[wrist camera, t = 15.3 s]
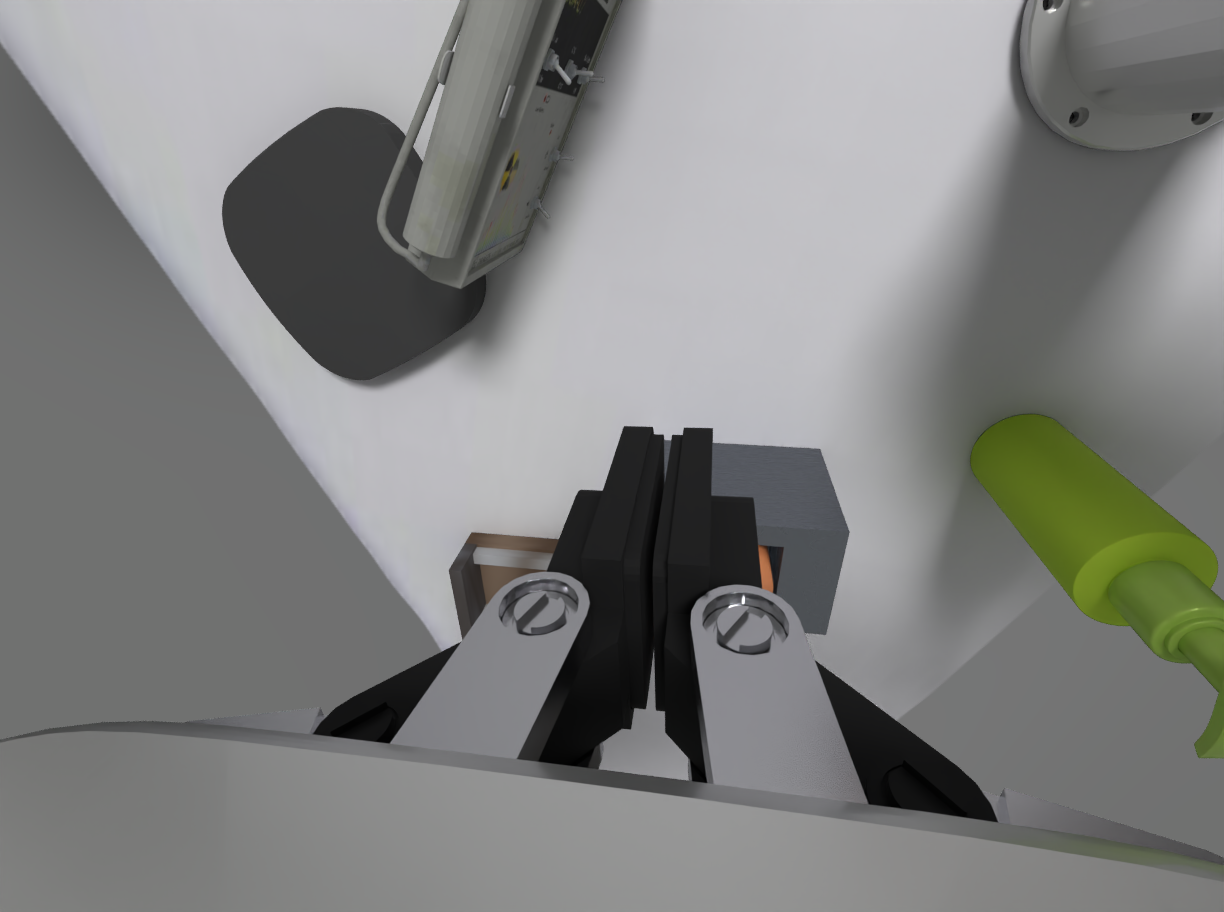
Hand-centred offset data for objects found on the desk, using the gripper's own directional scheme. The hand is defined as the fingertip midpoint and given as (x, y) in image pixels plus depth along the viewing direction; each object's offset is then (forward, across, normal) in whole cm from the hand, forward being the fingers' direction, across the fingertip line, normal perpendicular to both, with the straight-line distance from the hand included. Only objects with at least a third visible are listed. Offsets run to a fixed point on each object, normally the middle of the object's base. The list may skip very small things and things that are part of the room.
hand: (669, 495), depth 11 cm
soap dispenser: (+29, -22, +15) cm, 39 cm away
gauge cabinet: (+28, -2, +18) cm, 34 cm away
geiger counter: (+29, +8, -12) cm, 32 cm away
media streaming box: (+29, +23, 0) cm, 37 cm away
